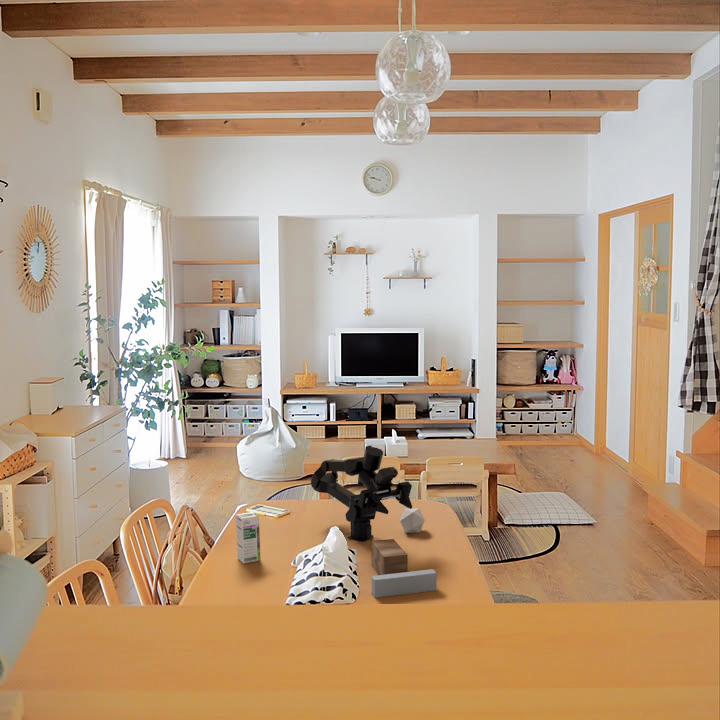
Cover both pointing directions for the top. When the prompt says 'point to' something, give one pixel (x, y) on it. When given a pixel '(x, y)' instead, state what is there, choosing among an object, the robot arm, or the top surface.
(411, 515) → the die
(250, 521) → the syrup box
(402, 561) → the walnut block
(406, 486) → the robot arm
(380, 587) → the board
